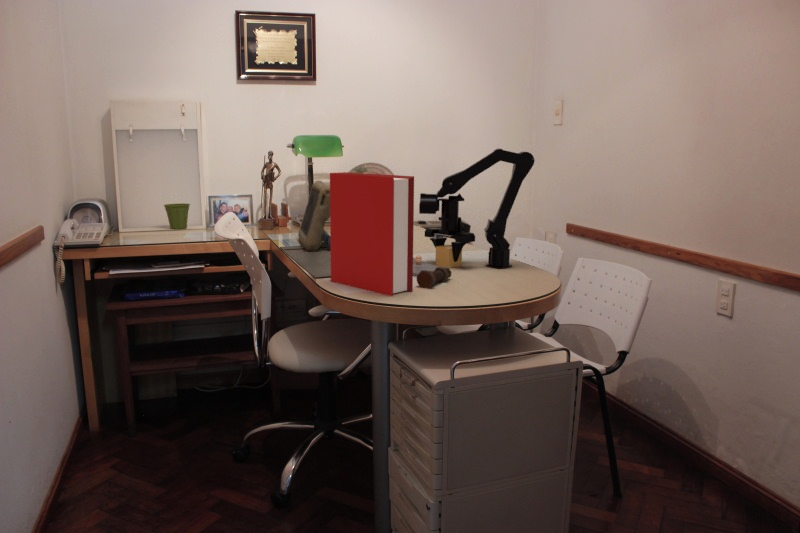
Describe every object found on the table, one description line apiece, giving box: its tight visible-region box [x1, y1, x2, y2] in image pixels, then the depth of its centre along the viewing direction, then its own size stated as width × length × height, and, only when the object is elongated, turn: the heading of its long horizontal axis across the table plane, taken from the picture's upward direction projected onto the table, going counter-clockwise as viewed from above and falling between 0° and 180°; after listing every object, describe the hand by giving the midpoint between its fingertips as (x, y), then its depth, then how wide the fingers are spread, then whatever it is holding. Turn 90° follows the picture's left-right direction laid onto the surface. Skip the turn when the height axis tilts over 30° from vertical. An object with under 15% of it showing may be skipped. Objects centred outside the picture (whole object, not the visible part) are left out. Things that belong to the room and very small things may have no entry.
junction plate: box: [413, 255, 450, 278], centre depth 209 cm, size 14×14×5 cm
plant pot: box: [163, 203, 191, 230], centre depth 301 cm, size 12×12×11 cm
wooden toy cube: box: [435, 244, 463, 269], centre depth 218 cm, size 6×6×6 cm
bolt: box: [416, 266, 452, 289], centre depth 191 cm, size 6×5×15 cm
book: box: [329, 171, 415, 297], centre depth 184 cm, size 27×8×32 cm, turn 46°
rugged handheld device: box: [297, 180, 331, 252], centre depth 256 cm, size 33×14×25 cm, turn 18°
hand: (448, 260), depth 219 cm, fingers closed on wooden toy cube, 6 cm apart
